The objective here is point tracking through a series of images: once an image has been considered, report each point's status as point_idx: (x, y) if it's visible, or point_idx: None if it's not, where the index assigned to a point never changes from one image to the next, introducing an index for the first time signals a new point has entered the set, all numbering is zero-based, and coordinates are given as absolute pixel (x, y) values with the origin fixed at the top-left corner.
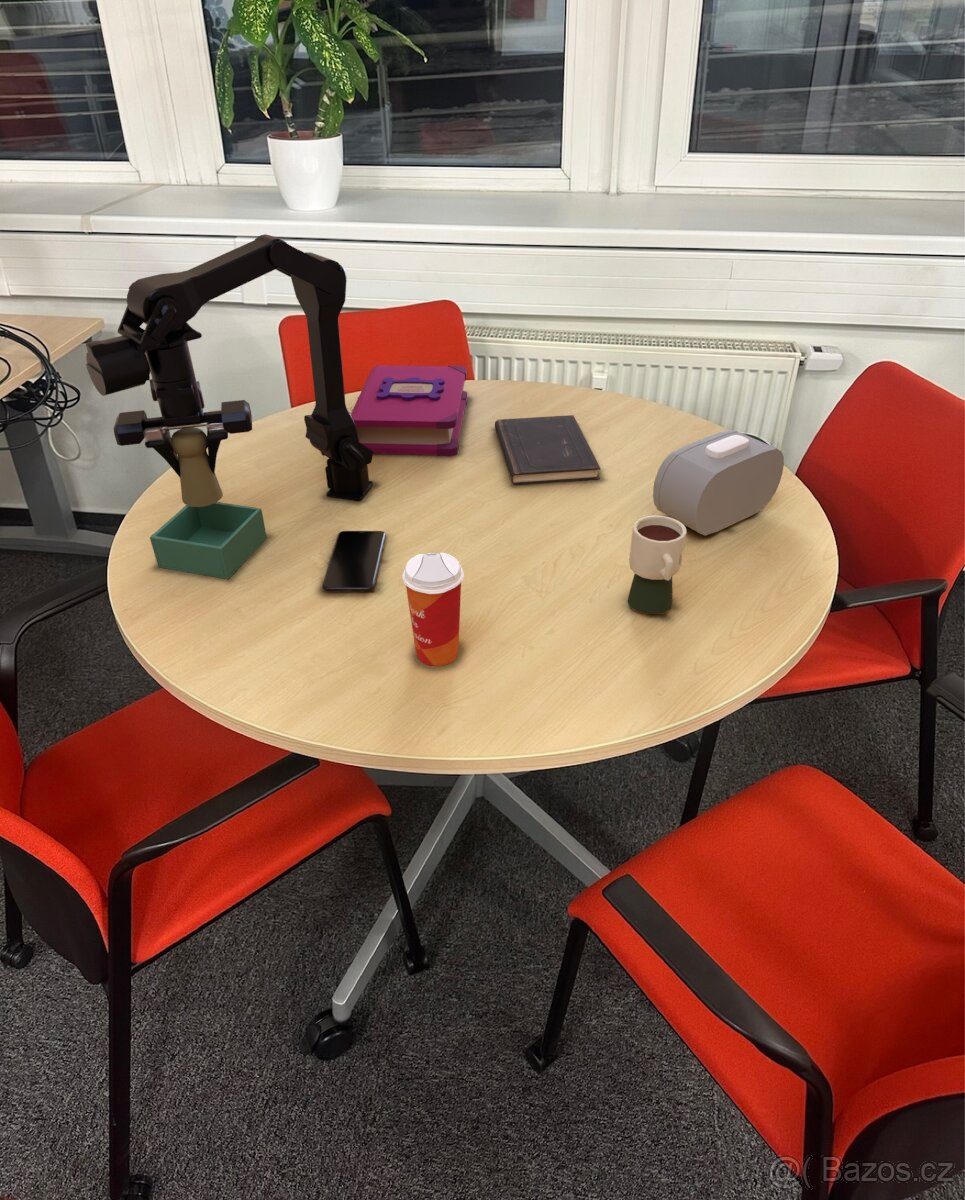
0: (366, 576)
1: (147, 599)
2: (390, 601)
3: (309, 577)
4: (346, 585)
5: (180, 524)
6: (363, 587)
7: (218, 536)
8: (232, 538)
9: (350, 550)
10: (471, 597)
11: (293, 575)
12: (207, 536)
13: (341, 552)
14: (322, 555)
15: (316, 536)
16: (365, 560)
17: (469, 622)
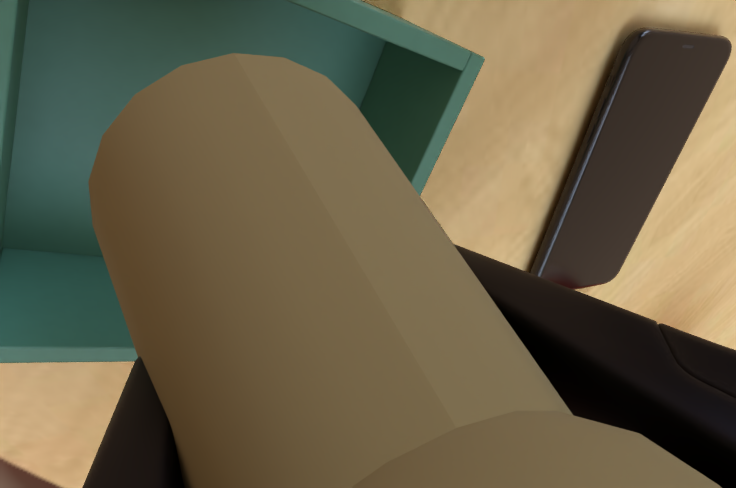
0: (618, 248)
1: (58, 403)
2: (619, 289)
3: (503, 239)
4: (575, 283)
5: (10, 110)
6: (600, 283)
7: (193, 19)
8: None
9: (627, 149)
10: (723, 258)
11: (469, 236)
12: (131, 16)
13: (606, 159)
14: (551, 139)
15: (561, 20)
16: (639, 190)
17: (688, 313)
